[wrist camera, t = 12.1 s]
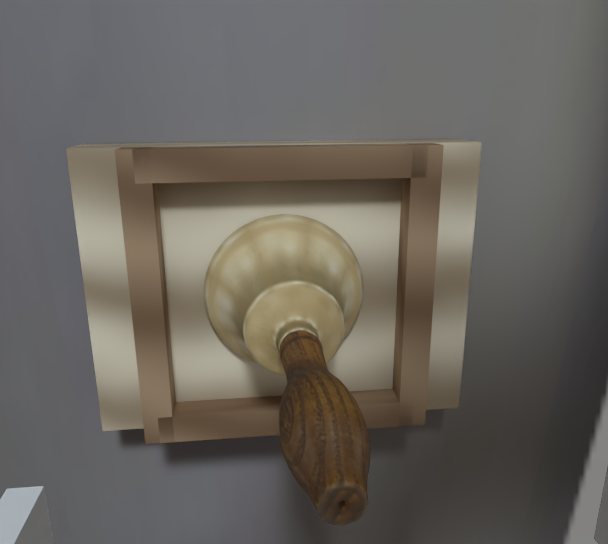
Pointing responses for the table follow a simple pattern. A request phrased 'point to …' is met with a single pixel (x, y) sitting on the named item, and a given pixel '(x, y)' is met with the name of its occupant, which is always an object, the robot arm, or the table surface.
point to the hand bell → (298, 346)
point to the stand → (238, 212)
